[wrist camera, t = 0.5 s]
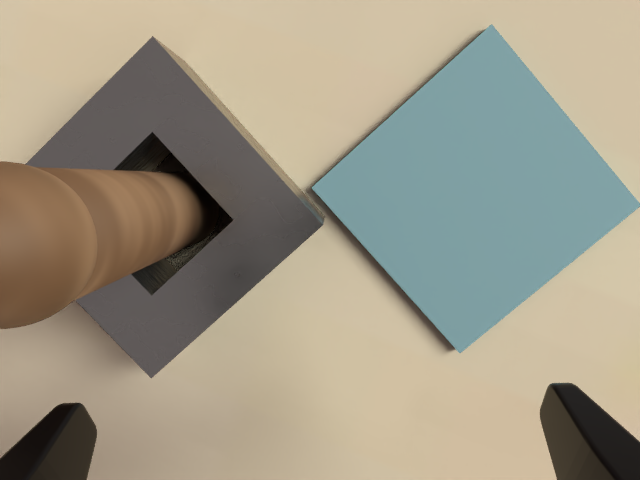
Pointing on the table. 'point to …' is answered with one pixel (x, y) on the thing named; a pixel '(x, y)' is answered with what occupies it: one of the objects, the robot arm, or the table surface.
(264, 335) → the table surface
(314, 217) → the block
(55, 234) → the brown wooden pin
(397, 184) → the blue square plate
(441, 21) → the table surface
